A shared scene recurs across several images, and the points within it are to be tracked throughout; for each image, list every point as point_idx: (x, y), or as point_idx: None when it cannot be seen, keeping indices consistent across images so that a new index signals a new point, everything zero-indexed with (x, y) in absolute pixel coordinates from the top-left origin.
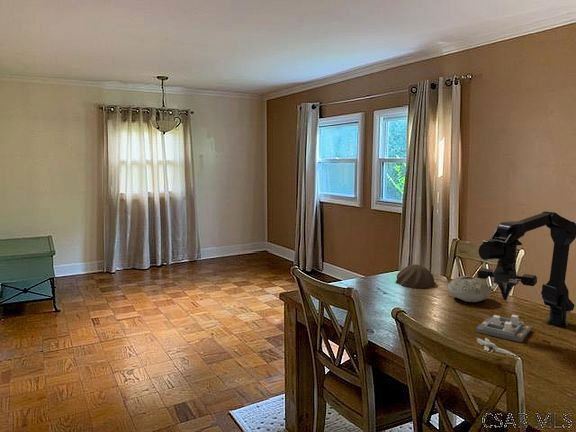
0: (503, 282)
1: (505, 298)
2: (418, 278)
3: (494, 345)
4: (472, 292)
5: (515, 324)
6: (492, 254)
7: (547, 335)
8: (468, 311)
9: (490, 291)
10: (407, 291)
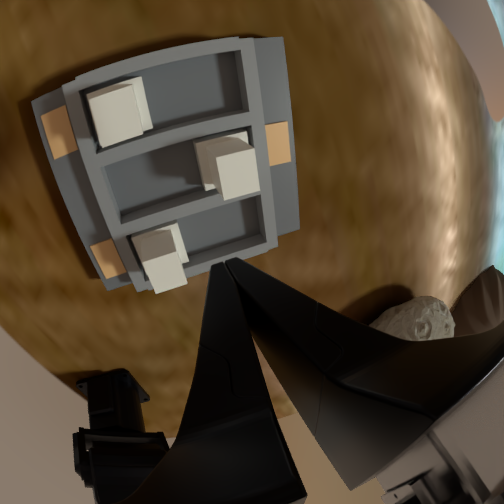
0: (369, 449)
1: (221, 270)
2: (486, 301)
3: None
4: (399, 335)
5: (136, 224)
6: None
7: (39, 283)
8: (373, 253)
9: None
10: (488, 248)
